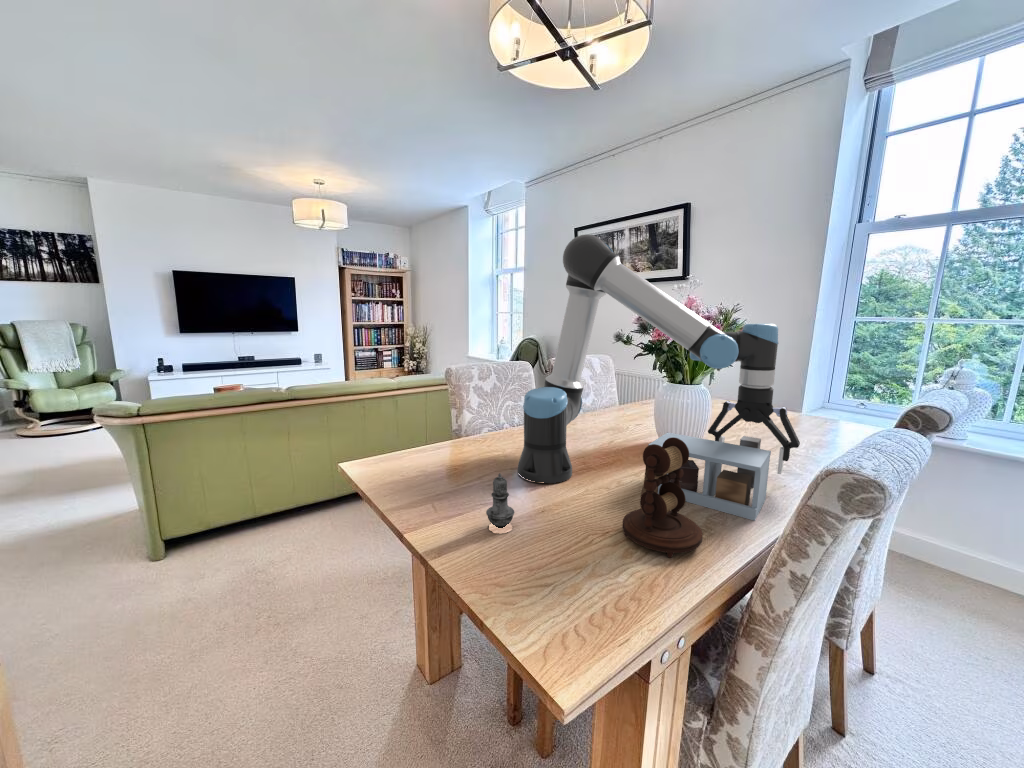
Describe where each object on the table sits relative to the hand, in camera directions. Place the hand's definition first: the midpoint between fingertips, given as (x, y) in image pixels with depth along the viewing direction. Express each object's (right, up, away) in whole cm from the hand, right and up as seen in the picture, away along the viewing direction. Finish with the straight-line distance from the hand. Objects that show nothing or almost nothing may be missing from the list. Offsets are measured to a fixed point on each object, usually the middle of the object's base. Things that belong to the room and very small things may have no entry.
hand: (748, 466), depth 105 cm
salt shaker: (-64, -9, -21) cm, 68 cm away
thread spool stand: (-32, -9, -25) cm, 42 cm away
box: (-19, -6, -3) cm, 20 cm away
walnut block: (-6, -6, -5) cm, 10 cm away
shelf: (-14, -6, -6) cm, 16 cm away
